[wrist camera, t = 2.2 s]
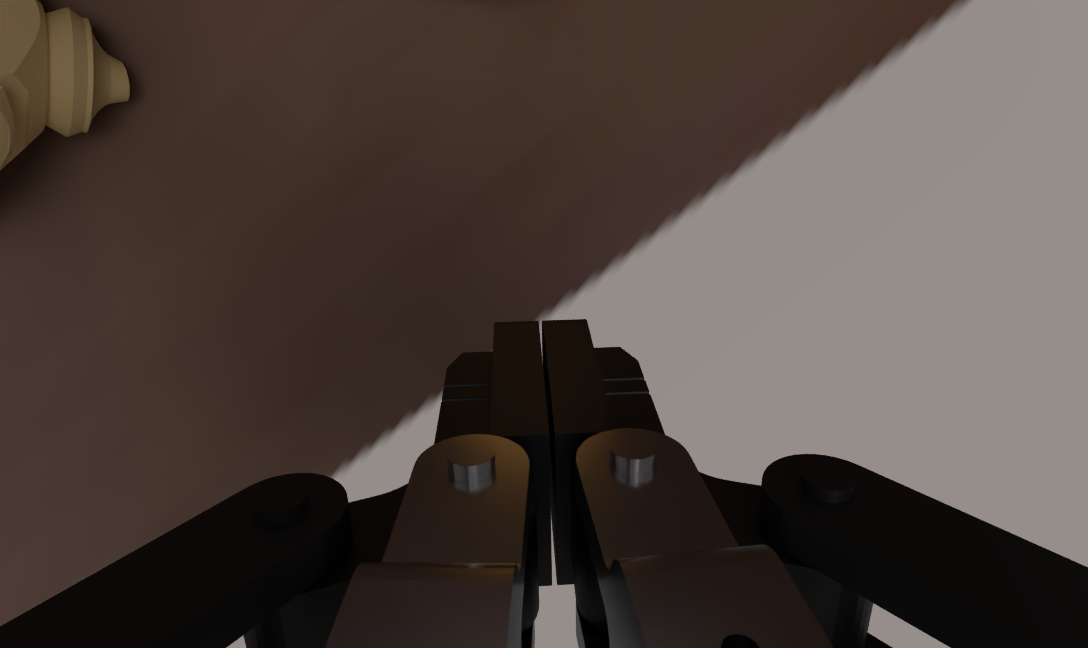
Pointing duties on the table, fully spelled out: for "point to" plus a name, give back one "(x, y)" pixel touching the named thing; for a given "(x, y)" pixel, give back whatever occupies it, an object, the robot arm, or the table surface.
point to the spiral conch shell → (51, 75)
